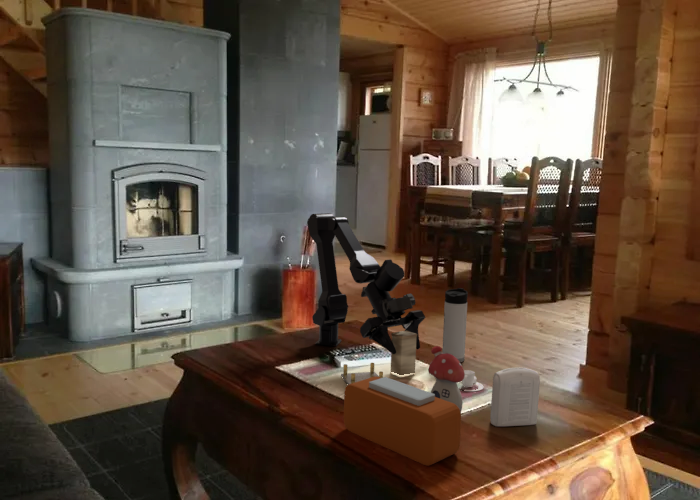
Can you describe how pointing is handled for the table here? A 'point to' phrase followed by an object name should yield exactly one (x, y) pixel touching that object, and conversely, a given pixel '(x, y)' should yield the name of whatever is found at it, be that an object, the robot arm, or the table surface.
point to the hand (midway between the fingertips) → (407, 351)
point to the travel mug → (455, 323)
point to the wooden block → (404, 352)
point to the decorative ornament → (446, 376)
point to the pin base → (359, 375)
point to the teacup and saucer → (471, 380)
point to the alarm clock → (403, 419)
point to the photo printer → (515, 397)
